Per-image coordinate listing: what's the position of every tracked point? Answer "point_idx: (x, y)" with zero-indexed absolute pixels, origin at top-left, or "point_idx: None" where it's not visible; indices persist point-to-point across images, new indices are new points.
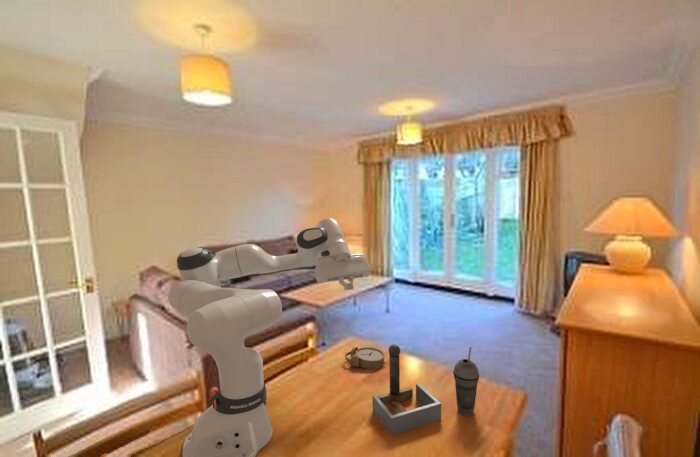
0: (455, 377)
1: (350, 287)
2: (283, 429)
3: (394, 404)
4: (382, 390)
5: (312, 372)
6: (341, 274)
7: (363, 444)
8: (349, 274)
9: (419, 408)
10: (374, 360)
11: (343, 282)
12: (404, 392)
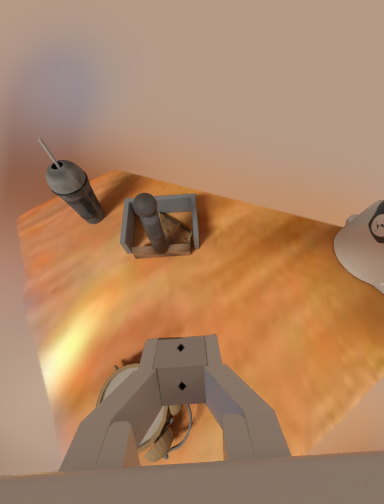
0: (86, 184)
1: (175, 337)
2: (319, 252)
3: (168, 242)
4: (164, 288)
5: (274, 405)
6: (273, 472)
7: (228, 205)
8: (115, 470)
9: (155, 198)
10: (137, 366)
11: (233, 374)
12: (146, 247)
